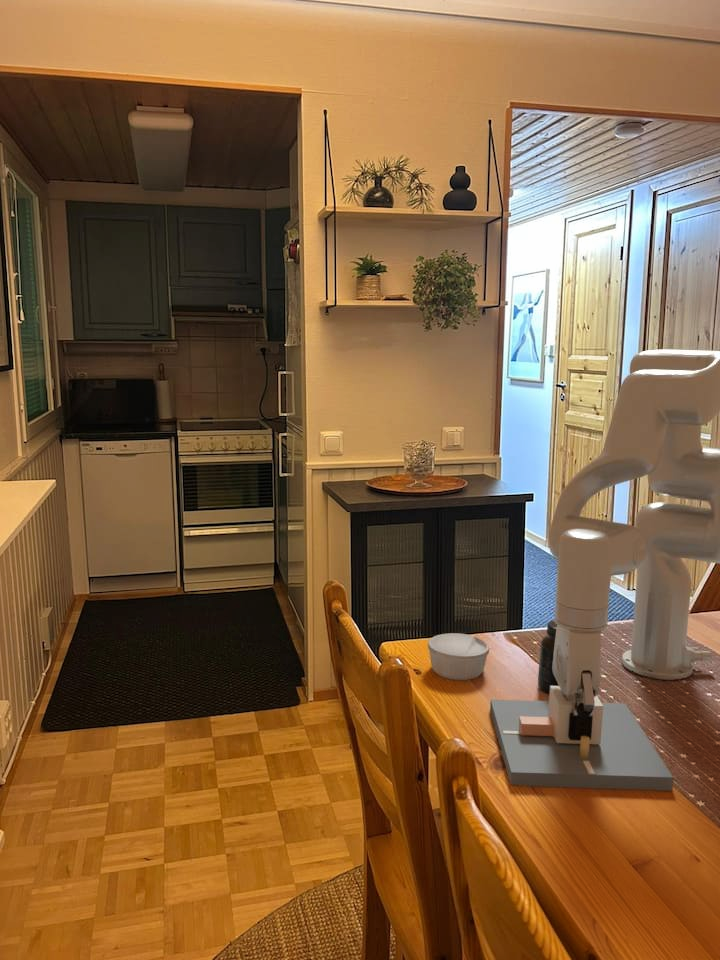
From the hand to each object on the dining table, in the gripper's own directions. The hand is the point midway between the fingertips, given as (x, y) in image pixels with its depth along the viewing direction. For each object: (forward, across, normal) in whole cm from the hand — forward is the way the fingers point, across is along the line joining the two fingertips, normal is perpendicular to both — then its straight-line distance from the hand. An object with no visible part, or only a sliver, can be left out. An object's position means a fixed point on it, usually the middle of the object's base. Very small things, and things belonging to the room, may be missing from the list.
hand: (573, 726), depth 116 cm
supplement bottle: (+4, -20, +2) cm, 20 cm away
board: (+3, 0, 0) cm, 3 cm away
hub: (+1, 0, -2) cm, 3 cm away
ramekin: (+4, -27, -15) cm, 31 cm away
